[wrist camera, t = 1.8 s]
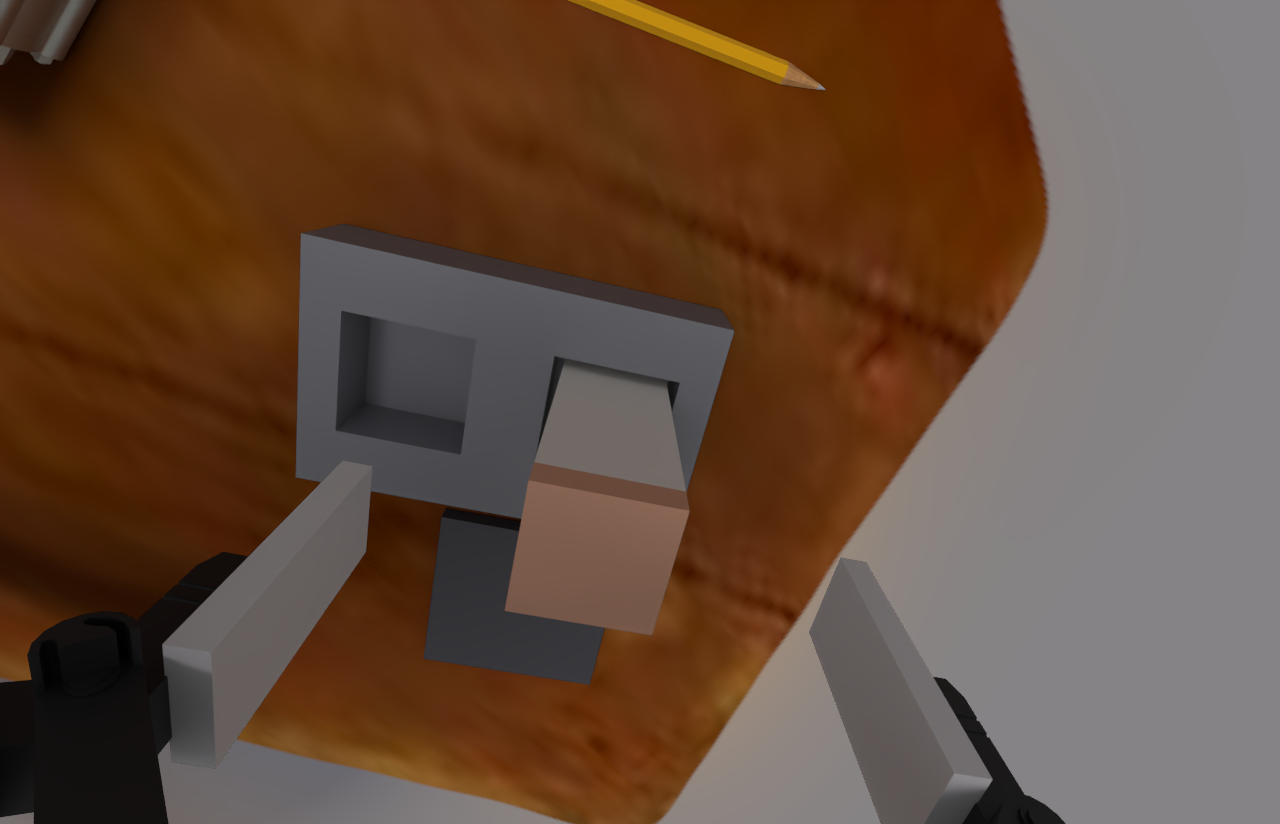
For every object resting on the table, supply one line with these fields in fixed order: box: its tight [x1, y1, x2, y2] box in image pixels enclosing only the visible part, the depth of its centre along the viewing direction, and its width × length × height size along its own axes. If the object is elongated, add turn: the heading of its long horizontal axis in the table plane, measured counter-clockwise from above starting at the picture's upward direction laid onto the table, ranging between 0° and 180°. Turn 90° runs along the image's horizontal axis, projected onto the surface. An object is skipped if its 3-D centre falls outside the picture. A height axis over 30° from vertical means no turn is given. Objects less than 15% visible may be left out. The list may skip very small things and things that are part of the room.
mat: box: [424, 508, 604, 685], centre depth 32 cm, size 9×9×1 cm
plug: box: [505, 359, 690, 635], centre depth 22 cm, size 4×4×12 cm
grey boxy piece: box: [296, 224, 734, 519], centre depth 26 cm, size 16×10×4 cm, turn 77°
